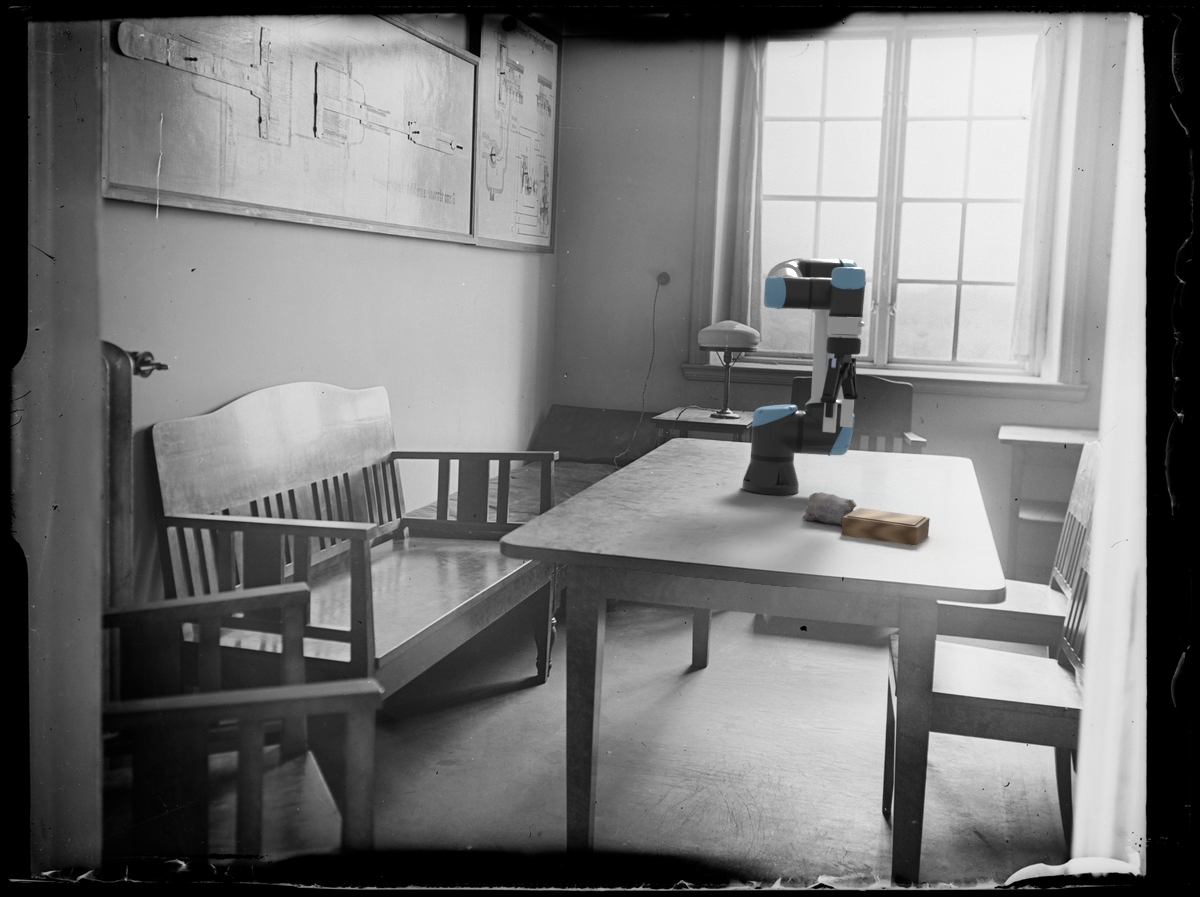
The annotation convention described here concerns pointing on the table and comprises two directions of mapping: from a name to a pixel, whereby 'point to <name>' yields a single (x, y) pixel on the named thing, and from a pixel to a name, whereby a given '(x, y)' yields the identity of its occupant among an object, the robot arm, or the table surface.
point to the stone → (828, 508)
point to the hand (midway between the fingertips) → (837, 429)
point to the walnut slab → (886, 526)
